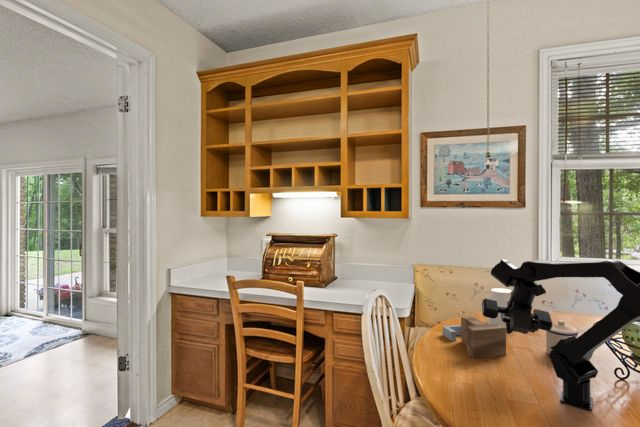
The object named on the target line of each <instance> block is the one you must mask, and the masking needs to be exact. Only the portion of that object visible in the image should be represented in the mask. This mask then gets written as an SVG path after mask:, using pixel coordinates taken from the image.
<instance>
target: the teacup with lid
mask: <svg viewBox="0 0 640 427" xmlns="http://www.w3.org/2000/svg"><path fill="white" fill-rule="evenodd" d="M545 334H546V335H545V337H546V338H545V339H546V341H545V342H546V345H545V346H546V348H545V349H546V354H547V355H549V353H550V351H551V350H553V349H551V348H550V347H552V346H555V345H556V344H557V343H558V342H559V341H560V340H561V339H564V338H567V337H571V336H575V337H576V339H577V338H578V335H579V331H578V330H577V329H576V328H575V327H573V326H570V325H569V324H568V323H566V322H565V321H564V320H562V319H559V320H557V322H554V323H553V326H552V328H551V330H550V331H546V330H545Z"/></svg>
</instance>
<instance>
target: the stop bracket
mask: <svg viewBox="0 0 640 427" xmlns="http://www.w3.org/2000/svg"><path fill="white" fill-rule="evenodd" d="M442 336H444V337H445V338H446V339H448V340H449V341H451V342H456V341H457V336H461V324H456V325H455V324H453V325H452V324H451V325H443V326H442Z"/></svg>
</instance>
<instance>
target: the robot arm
mask: <svg viewBox="0 0 640 427" xmlns="http://www.w3.org/2000/svg"><path fill="white" fill-rule="evenodd" d="M490 276H492V277H493V278H494V279H496V280H497V281H498V282H499V283H501V284H502V285H503V286H504V287H506V288H510V287H511V288H513V289H512V291H511V293H510V294H511V297H510V299H509V301H507V307H504V306H499V305H497V301H495V300H490V299H488V298H484V299H482V302H481V311H482V316H483V317H485V318H487V317H489V318H493V319H494V318H497V316H498V313H501V318H502V321H503V322H505V323H506V334H509V335H510V334H512V333H513V332H514V333H516V332H517V333H521V334H525V335H527V334H528V333H535V332H539V330H543V331H545V332H546V331H550V330H551V328H552V326H553V324H554V323H553V321H552V317H551V314H550V312H549V311H546V310H542V309H536V308H534V309H533V306H532V305H533V302H534V300H535V297H540V296H543V295H545V294H547V291H546V289H545V288H544V287H543V285H542V284H538V283H537V282H538V281H539V282H541V281H544V280H545V281H546V280H551V279H556V278H604V279H606V281H608V282H609V283H610V284H611V286H612V287H613V289H615V291H616V292H618V293H619V294H621V295H622V296H621V297H620V298H619V300H618V303H617V304H616V307H615V308H614V309H612V311H609V313H607V314H606V315H605V316H604V317H602V318H601V319H600V320H599V321H597V322H596V323H595V324H593V325H591V327H589V328H588V329H587V330H586V331H584V332H583V333H582V334H581V335H579V336H577V339H576V337H575V336H571V337H567V338H564V339H561V340H560V341H559V342H558V343H557V344H556V345H555V346H552V347H550V348H551V349H553V350H551V351H550V353H549V354H548V355H549V360H550V362H551V364H552V366H553V370H554V372H555V374H556V377H557V378H559V379H560V380H562V390H561V393H560V398H559V402H560V403H564V404H567V405H570V406H573V407H577V408H580V409H584V410H586V411H587V410H588V411H592V410H593V405H594V404H593V403H594V398H593V397H592V396H591V379H595V378H596V377H597V376H598V373H599V371H598V369H597V367H595V366H594V364H593V363H592V361H591V359H592V357H593V355H594V352H595V351H596V350H598V348H600V347H601V346H603V345H604V344H606V343H607V342H608V341H610V340H611V339H613V338H614V337H615V336H617V335H618V334H620V333H621V332H622V331H624V330H625V329H626V328H628V327H629V326H630V325H632V324H633V323H634V322H636V321H637V320H639V319H640V271H639V270H635V269H634V268H632V267H630V266H628V265H626V264H625V263H624V262H622V261H620V260H618V259H609V260H603V261H598V260H597V261H580V262H577V261H576V262H557V261H554V260H553V261H552V260H547V259H537V260H536V259H535V260H527V261H524V262H522V263H521V265H520V266H519V267H516V266H515V265H514V264H512V263H511V262H510V261H509V260H508V259H500V261H499V262H498V263H496V264H495V265H494V267H492V268H491V271H490ZM532 310H533V311H532ZM532 312H533V313H532Z"/></svg>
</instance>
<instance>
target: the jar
mask: <svg viewBox="0 0 640 427" xmlns="http://www.w3.org/2000/svg"><path fill="white" fill-rule="evenodd" d="M511 291H513V289H512V290H511V289H509V288H504V287H503V288H501V287H493V288H491V289H490V295H489V297H488V298H487V299H490V300H495V301H497V305H499V306H504V307H507V301H509V299H510V297H511V294H510V293H511ZM486 324H487V325H489V324H499V325H501V326H503V327H505V328H506V323H505V322H503V321H502V318H501V313H498V316H497V318H494V319H493V318H489V317H486Z"/></svg>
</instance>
